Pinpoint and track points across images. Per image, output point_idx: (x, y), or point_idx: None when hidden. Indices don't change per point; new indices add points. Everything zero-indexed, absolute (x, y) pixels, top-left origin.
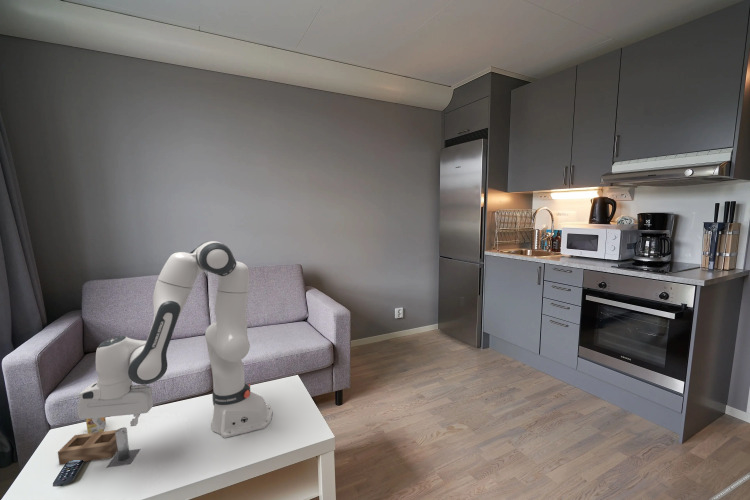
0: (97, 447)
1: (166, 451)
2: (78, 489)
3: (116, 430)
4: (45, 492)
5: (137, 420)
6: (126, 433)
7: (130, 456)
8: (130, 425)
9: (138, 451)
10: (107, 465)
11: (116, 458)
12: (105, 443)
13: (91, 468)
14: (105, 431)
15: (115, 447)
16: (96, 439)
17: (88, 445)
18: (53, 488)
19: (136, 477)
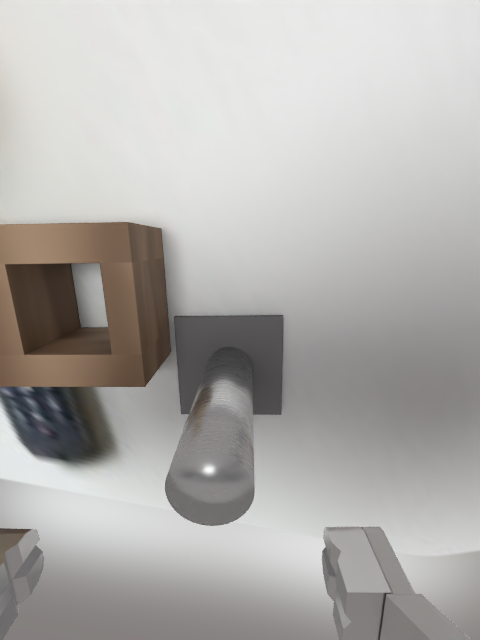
0: (74, 382)
1: (417, 353)
2: (145, 491)
3: (81, 231)
4: (33, 481)
5: (398, 571)
6: (253, 464)
7: (257, 365)
8: (326, 585)
9: (279, 336)
10: (180, 402)
11: (194, 364)
12: (101, 365)
13: (116, 395)
14: (3, 226)
15: (157, 328)
16: (9, 311)
17: (4, 363)
18: (46, 469)
19: (336, 480)
